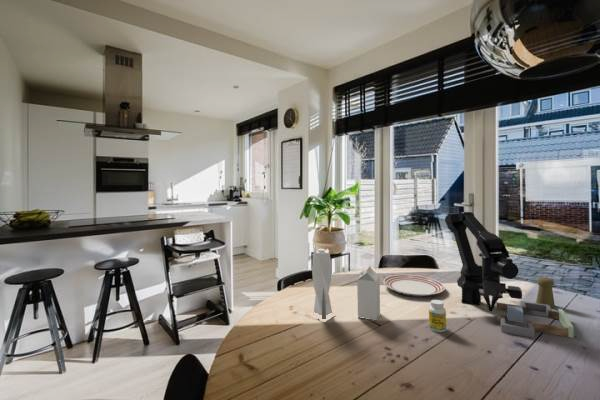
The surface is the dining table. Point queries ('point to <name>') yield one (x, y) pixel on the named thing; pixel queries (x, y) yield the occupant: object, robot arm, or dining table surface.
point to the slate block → (515, 313)
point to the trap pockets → (528, 332)
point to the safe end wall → (566, 322)
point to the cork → (545, 292)
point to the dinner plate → (414, 285)
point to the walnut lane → (538, 326)
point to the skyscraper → (322, 281)
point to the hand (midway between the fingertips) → (490, 311)
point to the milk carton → (368, 294)
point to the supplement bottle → (437, 316)
